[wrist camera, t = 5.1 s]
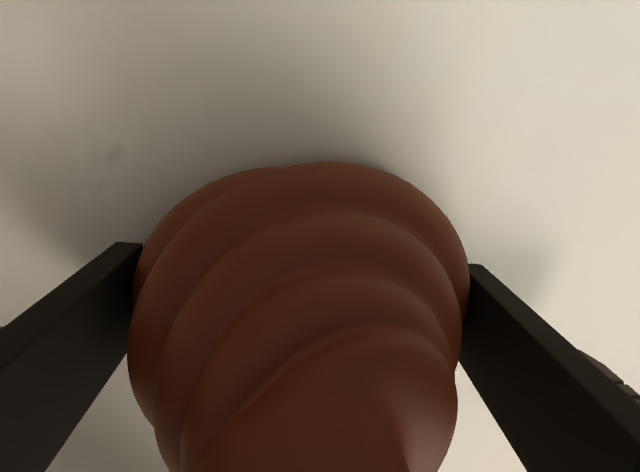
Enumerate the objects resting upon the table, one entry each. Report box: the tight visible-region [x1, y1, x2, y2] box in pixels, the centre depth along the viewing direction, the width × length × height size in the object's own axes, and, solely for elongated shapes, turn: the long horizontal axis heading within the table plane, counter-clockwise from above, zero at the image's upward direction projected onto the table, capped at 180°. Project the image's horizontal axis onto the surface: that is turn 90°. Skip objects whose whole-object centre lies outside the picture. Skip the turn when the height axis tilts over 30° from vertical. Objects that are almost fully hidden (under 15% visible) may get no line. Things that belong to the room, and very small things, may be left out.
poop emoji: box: [127, 162, 470, 472], centre depth 8 cm, size 10×9×9 cm
